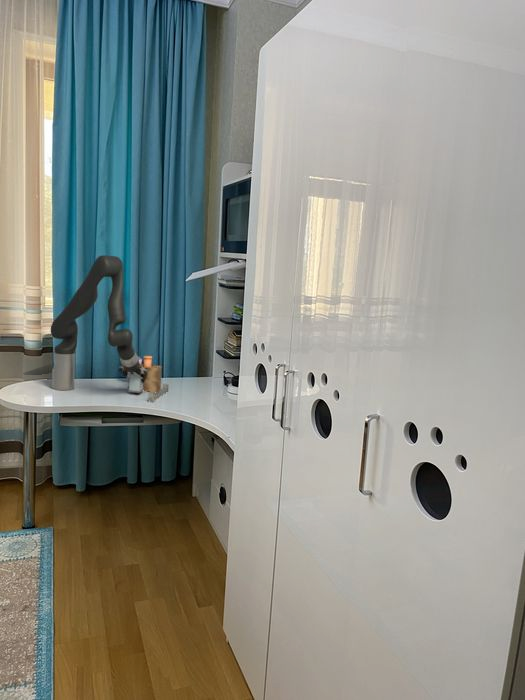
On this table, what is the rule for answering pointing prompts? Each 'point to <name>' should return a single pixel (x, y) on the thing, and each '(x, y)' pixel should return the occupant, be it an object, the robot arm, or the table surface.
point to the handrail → (158, 393)
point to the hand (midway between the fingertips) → (137, 380)
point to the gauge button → (147, 361)
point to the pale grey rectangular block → (135, 384)
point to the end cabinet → (152, 378)
